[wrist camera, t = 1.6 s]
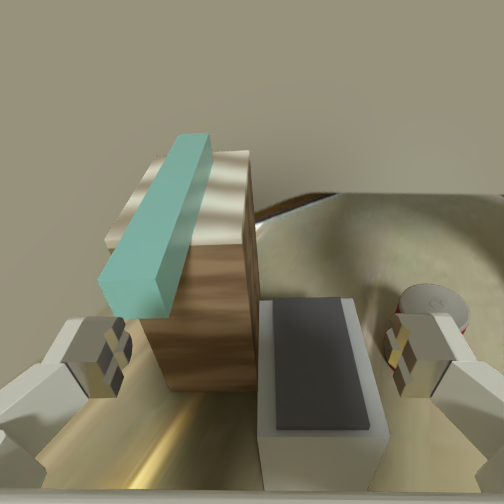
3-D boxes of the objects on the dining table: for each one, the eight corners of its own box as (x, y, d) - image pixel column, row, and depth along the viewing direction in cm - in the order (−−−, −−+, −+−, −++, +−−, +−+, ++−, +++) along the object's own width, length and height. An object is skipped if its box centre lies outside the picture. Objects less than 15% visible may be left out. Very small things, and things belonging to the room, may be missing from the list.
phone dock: (362, 500, 35) (393, 432, 24) (265, 499, 35) (256, 432, 25) (339, 376, 45) (353, 293, 35) (265, 377, 46) (259, 295, 36)
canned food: (449, 350, 47) (476, 297, 40) (435, 395, 42) (464, 344, 36) (394, 327, 51) (410, 274, 44) (375, 366, 46) (391, 314, 39)
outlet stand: (258, 391, 45) (241, 234, 28) (170, 391, 45) (104, 239, 29) (260, 291, 59) (249, 148, 43) (193, 292, 60) (157, 153, 43)
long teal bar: (168, 317, 22) (155, 279, 19) (116, 319, 22) (97, 280, 20) (213, 161, 40) (209, 132, 38) (184, 163, 40) (178, 134, 38)
